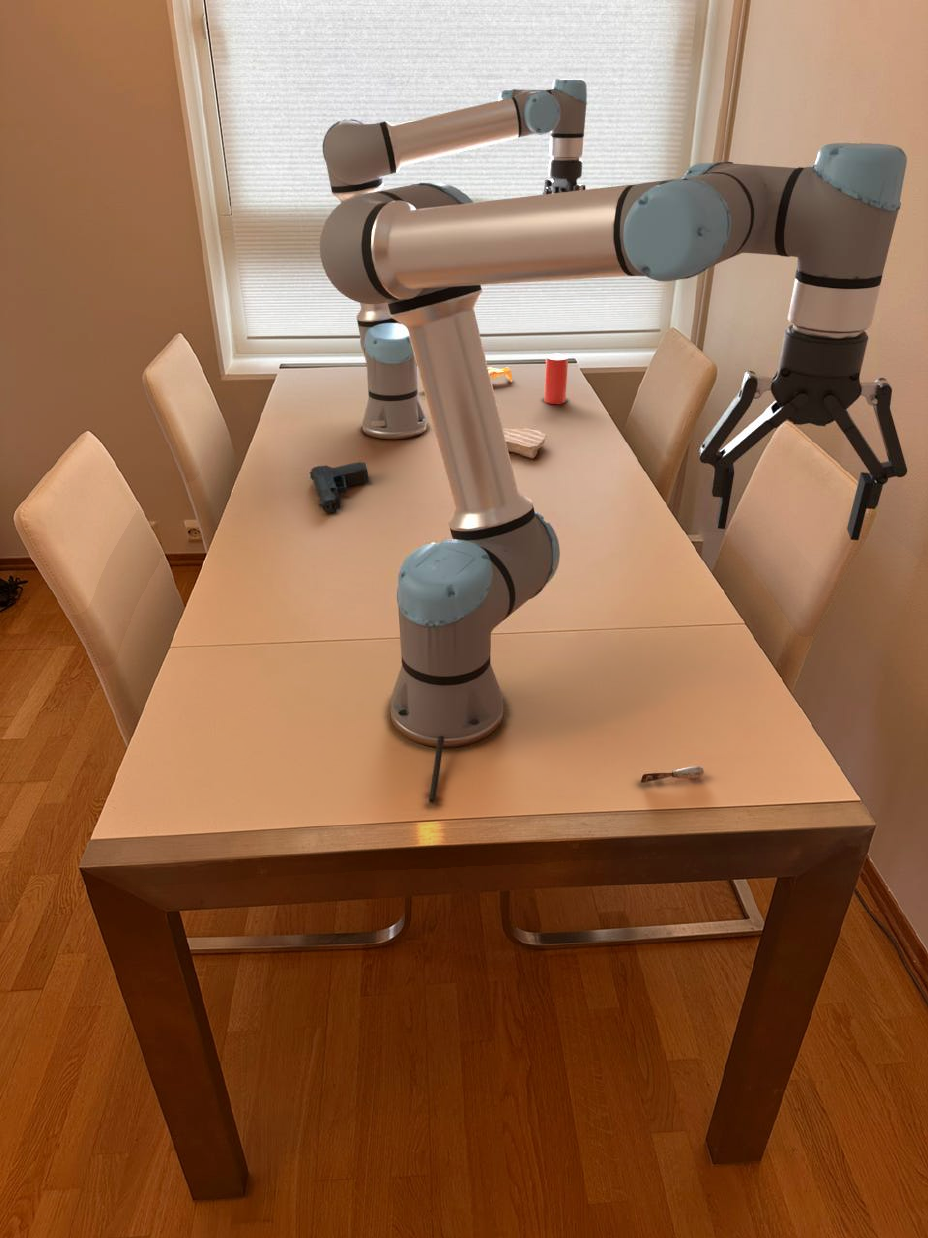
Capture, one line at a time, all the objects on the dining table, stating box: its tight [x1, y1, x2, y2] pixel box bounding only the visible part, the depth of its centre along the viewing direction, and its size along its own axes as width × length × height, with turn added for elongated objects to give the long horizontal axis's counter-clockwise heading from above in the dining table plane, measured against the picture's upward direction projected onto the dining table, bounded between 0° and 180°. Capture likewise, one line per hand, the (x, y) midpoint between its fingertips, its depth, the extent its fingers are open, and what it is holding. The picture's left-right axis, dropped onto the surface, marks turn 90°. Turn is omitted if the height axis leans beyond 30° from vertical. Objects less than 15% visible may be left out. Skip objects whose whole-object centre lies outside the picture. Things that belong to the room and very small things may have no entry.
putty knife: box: [640, 765, 705, 784], centre depth 109 cm, size 1×8×2 cm, turn 103°
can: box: [543, 353, 569, 405], centre depth 229 cm, size 6×6×11 cm
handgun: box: [309, 461, 369, 514], centre depth 182 cm, size 3×18×12 cm
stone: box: [502, 427, 547, 459], centre depth 203 cm, size 13×12×3 cm
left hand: (560, 258), depth 213 cm, fingers open, 13 cm apart
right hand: (785, 529), depth 96 cm, fingers open, 13 cm apart
